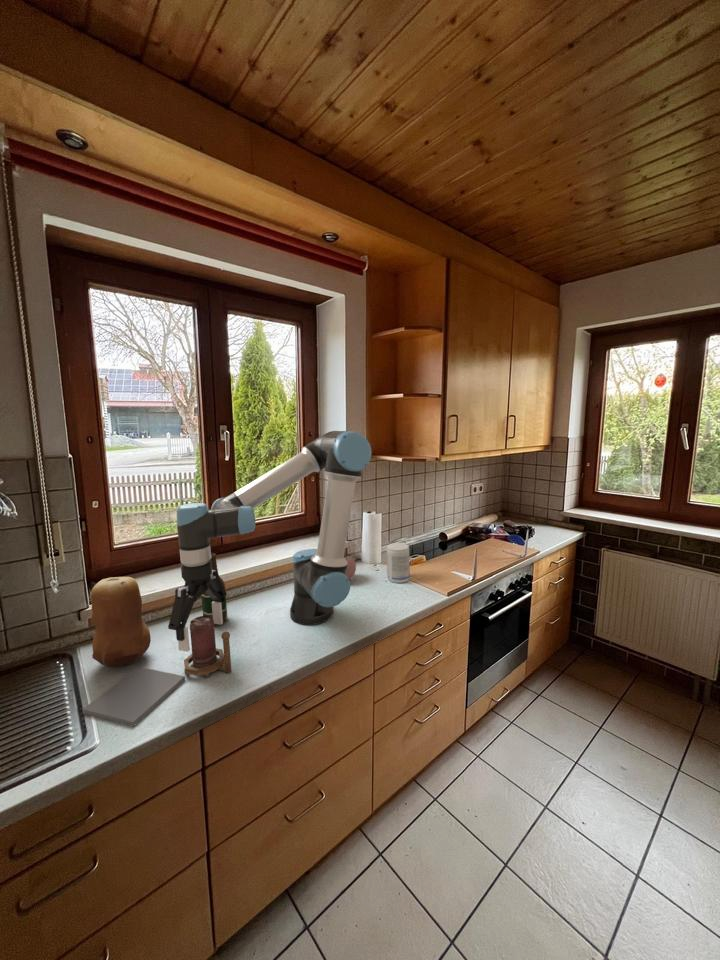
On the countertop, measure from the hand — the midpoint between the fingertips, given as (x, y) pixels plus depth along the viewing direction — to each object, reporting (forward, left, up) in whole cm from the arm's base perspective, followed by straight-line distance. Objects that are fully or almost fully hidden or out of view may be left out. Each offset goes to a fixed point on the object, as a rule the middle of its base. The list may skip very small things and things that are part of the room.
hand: (202, 636), depth 104 cm
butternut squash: (+24, +4, -10) cm, 26 cm away
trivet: (+9, +14, -9) cm, 19 cm away
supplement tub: (-41, -72, -10) cm, 83 cm away
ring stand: (-2, 0, -9) cm, 9 cm away
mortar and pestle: (-18, -65, -10) cm, 68 cm away
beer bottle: (+13, -22, -10) cm, 27 cm away
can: (0, 0, -10) cm, 10 cm away
